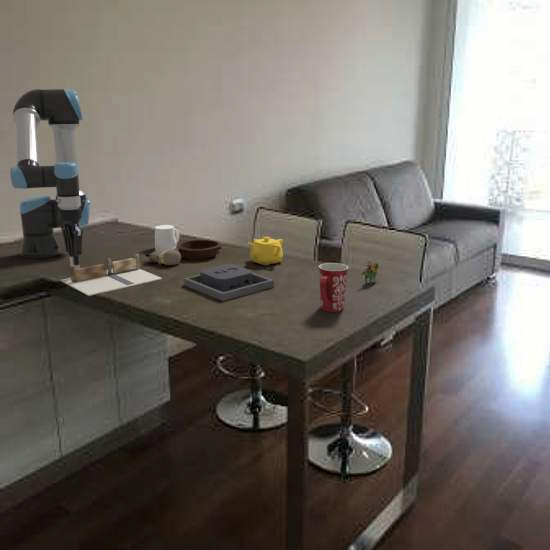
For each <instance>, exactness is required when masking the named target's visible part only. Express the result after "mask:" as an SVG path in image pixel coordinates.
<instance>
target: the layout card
mask: <svg viewBox="0 0 550 550" xmlns="http://www.w3.org/2000/svg"><path fill="white" fill-rule="evenodd" d="M161 280H163V278H162V277H160V276H158V275H156V274H153V273H151V272H148V271H146V270H143V269H141V268H140V269H133V270H128V271H123V272H119V273H113V270H112V275H108V269H107V275H104V276H100V277H95V278H90V279H85V280H81V281H76V282H71V277H68V278H62V279H60V282H61V283H64V284H66V285H67V286H69V287H71V288H73V289H74V290H76V291H78V292H80V293H82V294H84V295H86V296H87V297H91V296H95V295H99V294H105V293H107V292H112V291H116V290H120V289H125V288H130V287H134V286H139V285H143V283H144V284H147V283H150V282H157V281H161Z"/></svg>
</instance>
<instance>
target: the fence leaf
mask: <svg viewBox="0 0 550 550" xmlns="http://www.w3.org/2000/svg"><path fill="white" fill-rule="evenodd" d="M69 270H70V271H69V272H70V278H71V282H76V281H81V280H85V279H90V278H95V277H100V276H104V275H107V270H108V269H107V263H100V264H95V265H90V266H89V265H88V266H84V267H80V268H79V269H76V267H75V266H71V265H70V267H69Z"/></svg>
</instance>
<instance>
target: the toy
mask: <svg viewBox="0 0 550 550" xmlns="http://www.w3.org/2000/svg"><path fill="white" fill-rule="evenodd" d="M145 257H147V258H148V261H150V262H151V261H153V262H155V263H158V264H159V265H160V266H161V265H162V264H164V265H165V266H175V265H177V264H179V263H180V262H181V260H182V258H181V255H180V253H179V252H178V250H177V249H173V250H166V251H164V250H155V251H153V252H151V253H149V252H148V253H147V254H145Z"/></svg>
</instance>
